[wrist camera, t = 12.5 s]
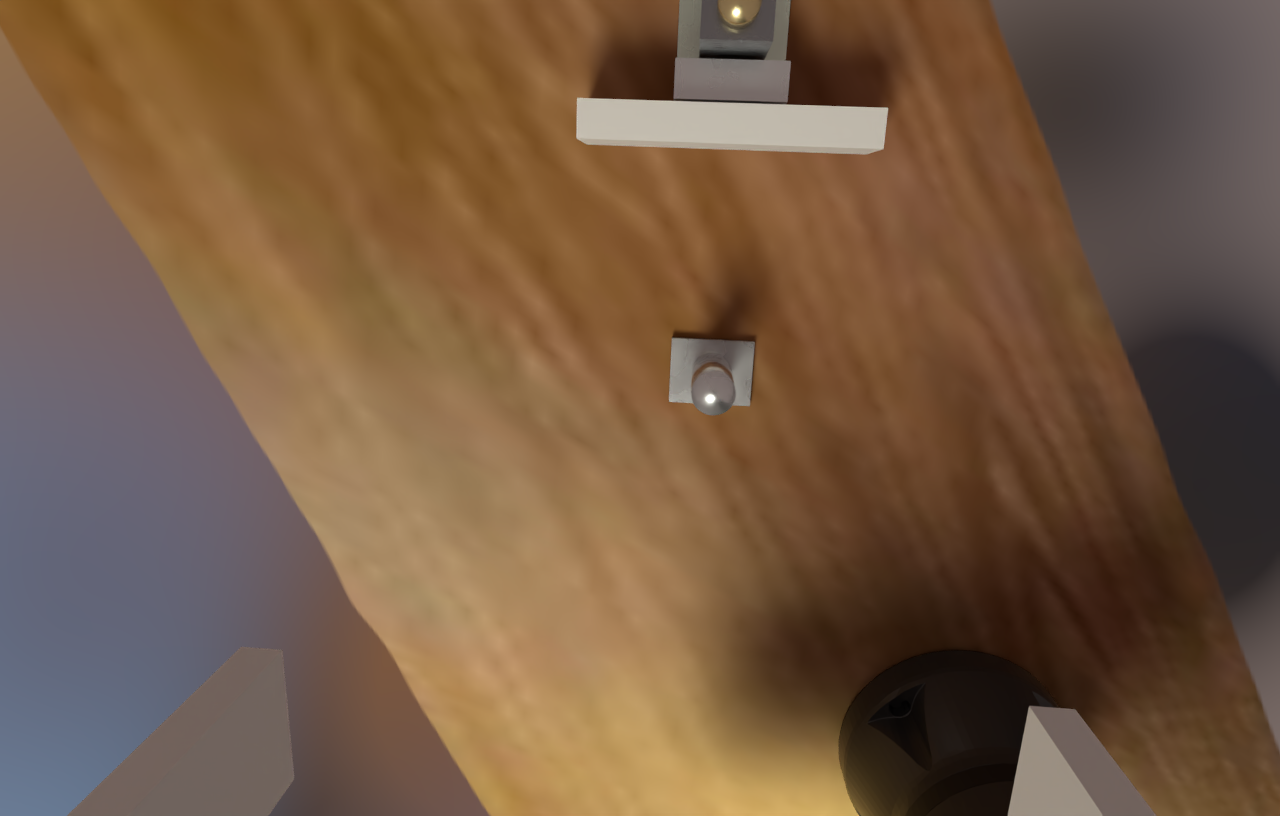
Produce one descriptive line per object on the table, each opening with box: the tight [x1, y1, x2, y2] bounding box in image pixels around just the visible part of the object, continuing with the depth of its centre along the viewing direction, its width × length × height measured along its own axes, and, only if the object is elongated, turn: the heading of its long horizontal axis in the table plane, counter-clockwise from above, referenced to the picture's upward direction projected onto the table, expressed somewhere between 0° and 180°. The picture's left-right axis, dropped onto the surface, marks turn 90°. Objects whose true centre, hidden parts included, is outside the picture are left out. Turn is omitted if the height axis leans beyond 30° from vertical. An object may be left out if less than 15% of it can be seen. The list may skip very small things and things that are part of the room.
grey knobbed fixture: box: [669, 337, 755, 415], centre depth 44 cm, size 4×5×6 cm
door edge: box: [577, 98, 888, 154], centre depth 41 cm, size 2×16×4 cm, turn 88°
